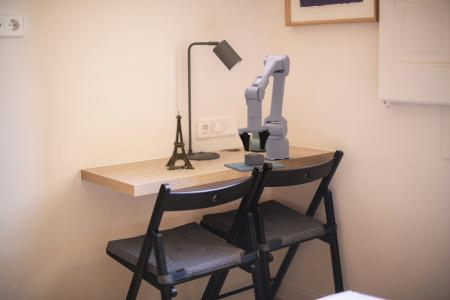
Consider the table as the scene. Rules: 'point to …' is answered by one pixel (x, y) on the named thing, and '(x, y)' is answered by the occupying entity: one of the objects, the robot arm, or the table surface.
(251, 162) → the dark grey square block
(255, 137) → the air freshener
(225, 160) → the table surface
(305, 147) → the table surface
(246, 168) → the piston stand
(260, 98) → the robot arm
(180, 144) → the eiffel tower
